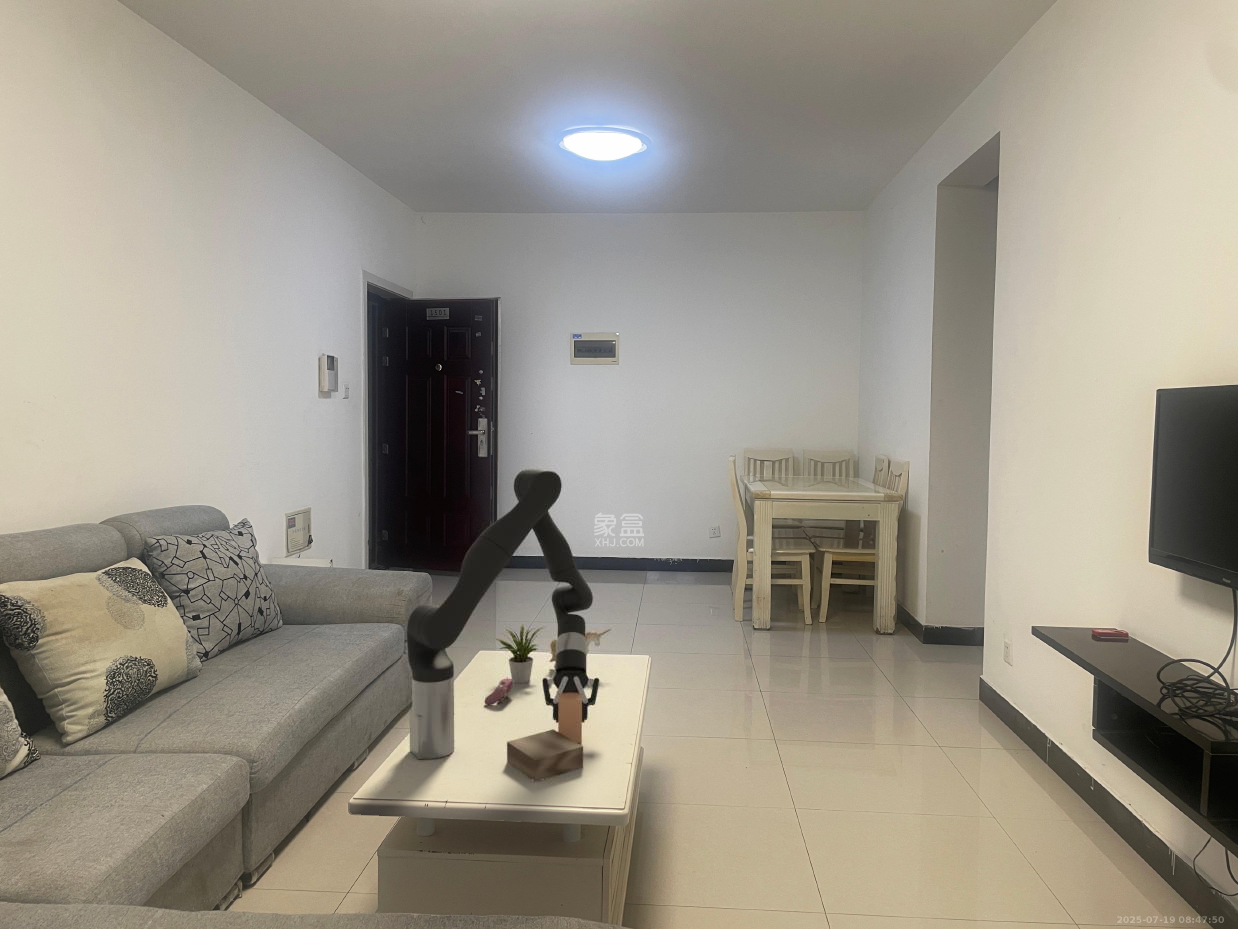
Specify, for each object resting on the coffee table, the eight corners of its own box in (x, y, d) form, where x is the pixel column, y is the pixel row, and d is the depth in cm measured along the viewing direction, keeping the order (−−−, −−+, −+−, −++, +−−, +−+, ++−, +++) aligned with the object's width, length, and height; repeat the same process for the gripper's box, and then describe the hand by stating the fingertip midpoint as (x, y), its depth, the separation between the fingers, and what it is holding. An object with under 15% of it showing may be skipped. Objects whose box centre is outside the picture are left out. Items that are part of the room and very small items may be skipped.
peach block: (558, 742, 183) (558, 700, 183) (558, 733, 188) (559, 692, 188) (581, 742, 183) (581, 700, 183) (581, 733, 189) (581, 692, 188)
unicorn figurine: (604, 679, 232) (605, 634, 231) (542, 674, 237) (542, 629, 236) (611, 672, 239) (611, 628, 238) (550, 667, 244) (550, 624, 243)
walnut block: (535, 783, 165) (535, 760, 165) (507, 764, 174) (507, 741, 174) (583, 768, 172) (583, 746, 172) (553, 750, 182) (553, 729, 181)
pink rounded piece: (496, 712, 209) (508, 690, 208) (482, 703, 210) (493, 681, 209) (509, 700, 219) (519, 678, 218) (495, 691, 220) (505, 670, 219)
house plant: (532, 668, 242) (532, 615, 241) (557, 680, 231) (557, 624, 230) (490, 677, 233) (490, 622, 233) (514, 690, 222) (514, 632, 222)
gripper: (541, 648, 192) (538, 714, 181) (600, 647, 193) (601, 714, 181) (542, 663, 198) (539, 728, 186) (600, 662, 198) (600, 728, 187)
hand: (570, 721), depth 184 cm, fingers closed on peach block, 5 cm apart
